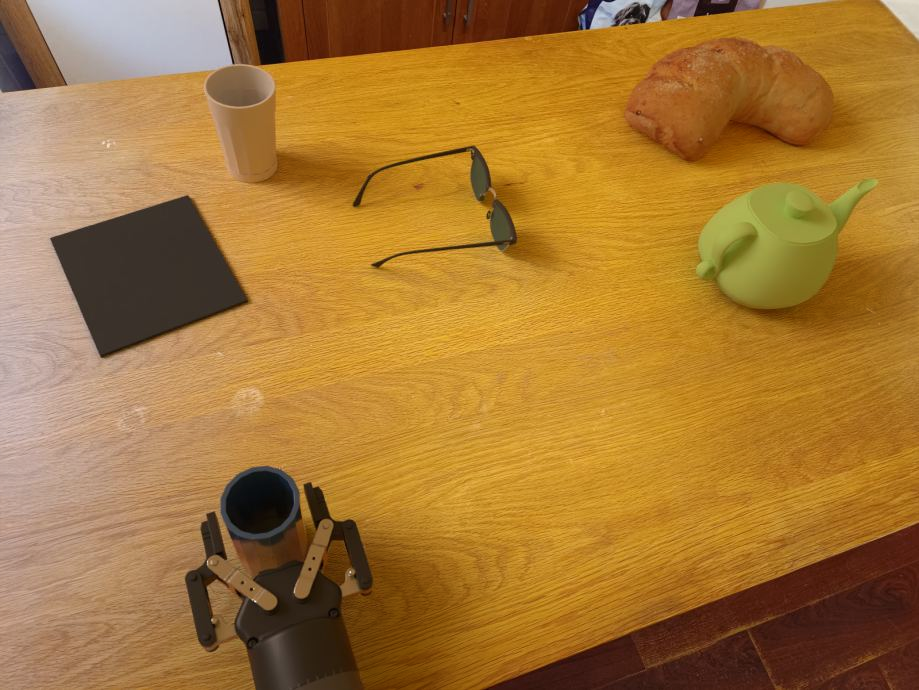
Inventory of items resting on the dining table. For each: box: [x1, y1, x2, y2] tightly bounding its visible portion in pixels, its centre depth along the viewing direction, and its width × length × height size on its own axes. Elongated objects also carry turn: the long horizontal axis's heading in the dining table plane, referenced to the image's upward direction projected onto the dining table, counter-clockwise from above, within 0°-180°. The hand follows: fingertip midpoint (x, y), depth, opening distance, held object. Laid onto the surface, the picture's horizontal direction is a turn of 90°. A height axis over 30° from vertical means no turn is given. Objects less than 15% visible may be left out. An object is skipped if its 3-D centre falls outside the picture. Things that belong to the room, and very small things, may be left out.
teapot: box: [695, 177, 879, 310], centre depth 89 cm, size 22×15×13 cm
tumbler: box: [219, 465, 308, 578], centre depth 63 cm, size 6×6×11 cm
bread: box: [624, 36, 835, 162], centre depth 107 cm, size 32×20×10 cm, turn 107°
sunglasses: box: [352, 145, 518, 268], centre depth 90 cm, size 16×17×5 cm
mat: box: [49, 194, 249, 358], centre depth 83 cm, size 16×18×1 cm
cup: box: [203, 63, 279, 184], centre depth 89 cm, size 8×8×12 cm
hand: (260, 500), depth 63 cm, fingers open, 7 cm apart
